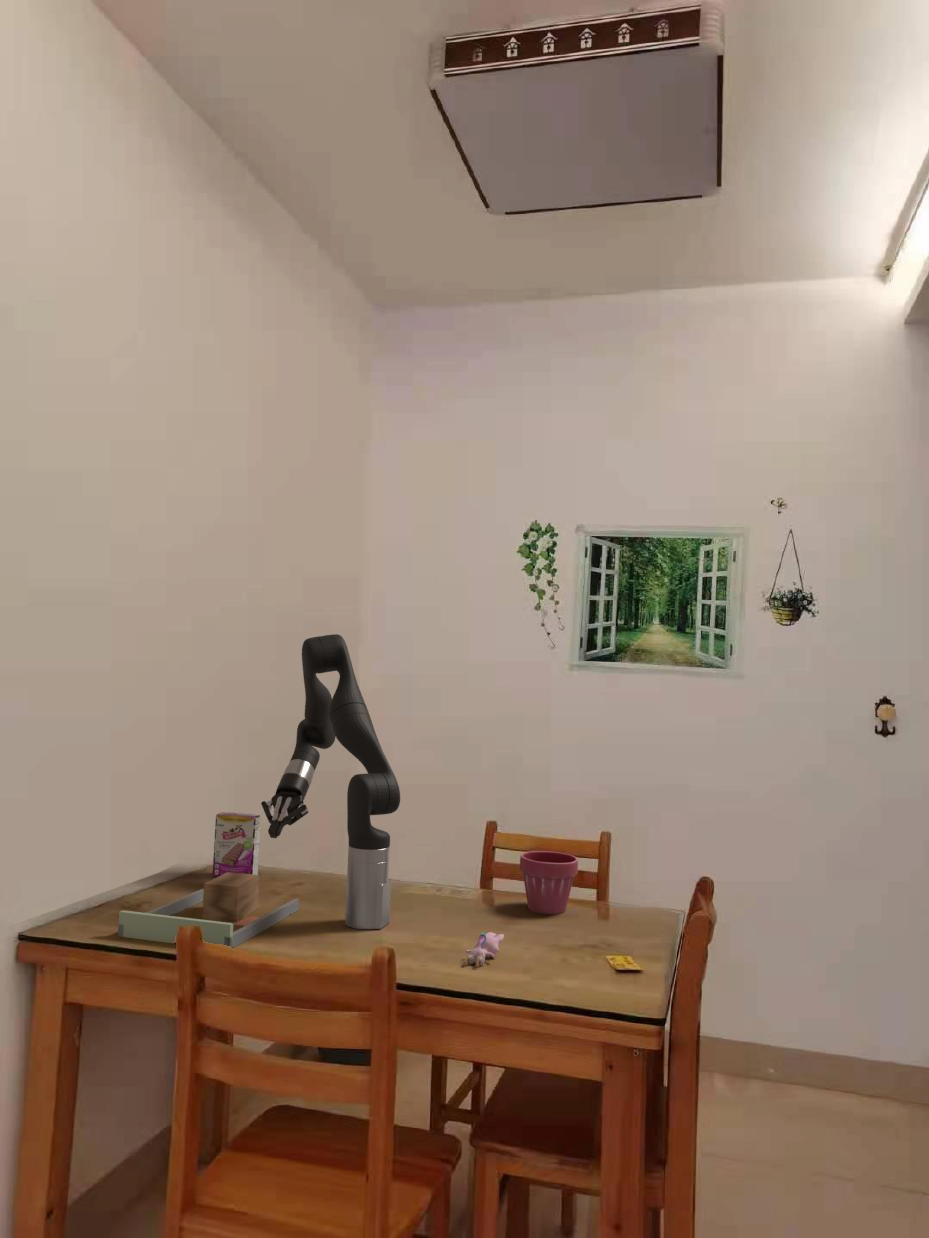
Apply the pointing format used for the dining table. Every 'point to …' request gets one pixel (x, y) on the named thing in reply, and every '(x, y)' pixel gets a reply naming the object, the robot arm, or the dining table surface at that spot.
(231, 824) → the candy bar box
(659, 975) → the dining table surface
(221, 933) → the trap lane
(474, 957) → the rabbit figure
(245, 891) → the walnut block
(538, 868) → the plant pot
